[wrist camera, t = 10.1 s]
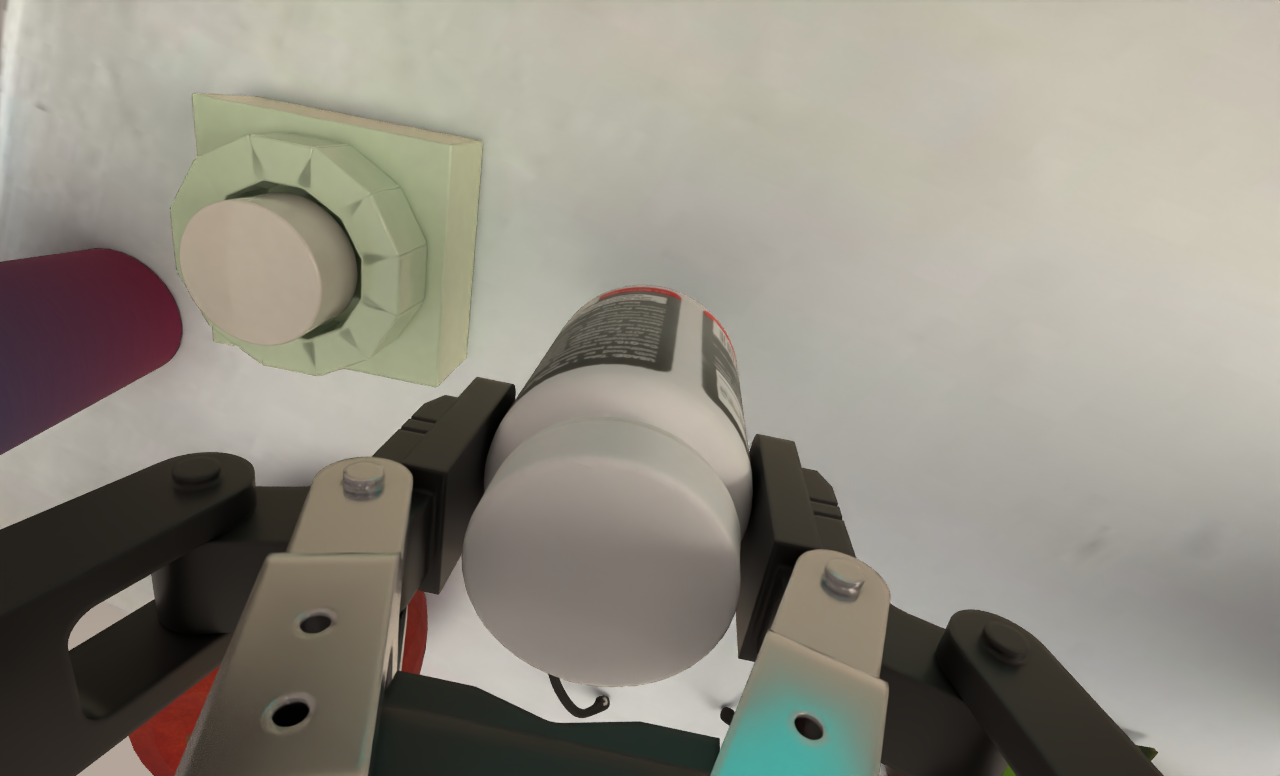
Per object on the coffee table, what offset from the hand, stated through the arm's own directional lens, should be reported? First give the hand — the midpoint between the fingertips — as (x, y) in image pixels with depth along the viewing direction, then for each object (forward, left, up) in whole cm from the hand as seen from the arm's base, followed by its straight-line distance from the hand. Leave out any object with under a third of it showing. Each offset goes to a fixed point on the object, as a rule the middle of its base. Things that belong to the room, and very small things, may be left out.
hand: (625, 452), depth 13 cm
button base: (+11, 0, -12) cm, 16 cm away
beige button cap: (+11, 0, -7) cm, 13 cm away
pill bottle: (0, 0, -5) cm, 5 cm away
